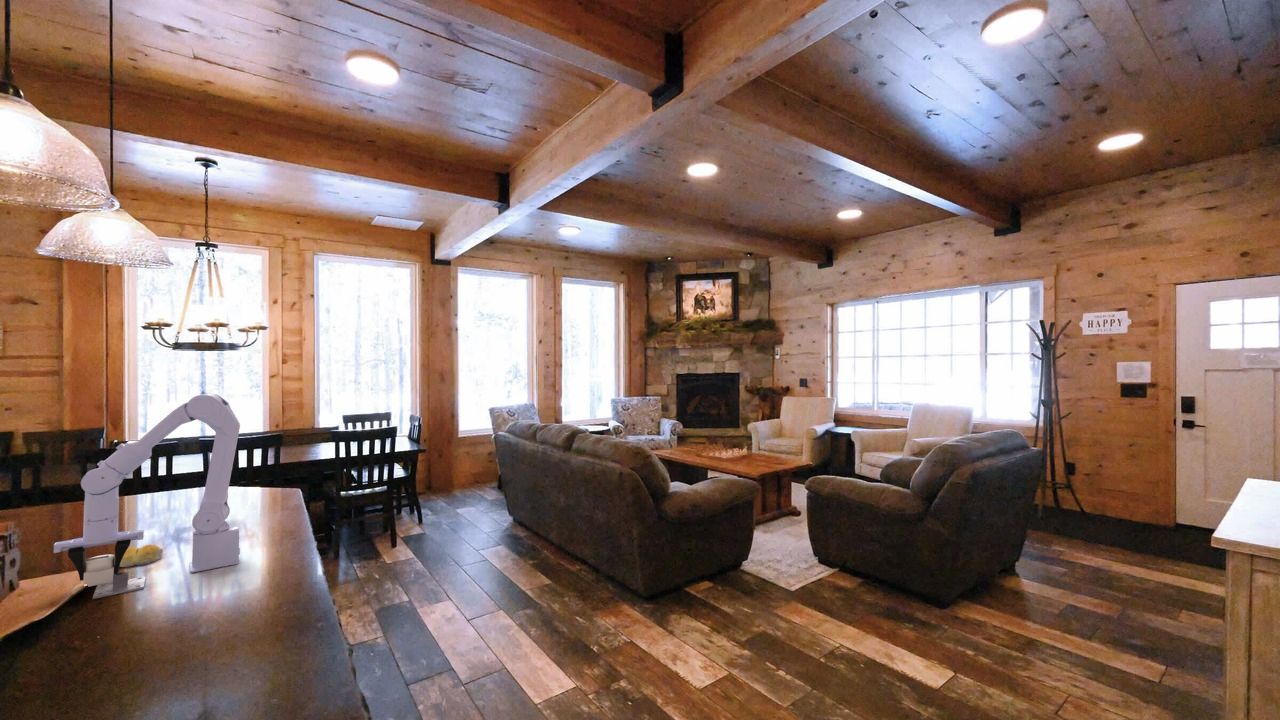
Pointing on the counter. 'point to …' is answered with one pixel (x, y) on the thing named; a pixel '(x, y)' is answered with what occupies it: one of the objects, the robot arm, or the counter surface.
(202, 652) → the counter surface
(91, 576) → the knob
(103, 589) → the plate
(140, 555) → the bread roll
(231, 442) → the robot arm
